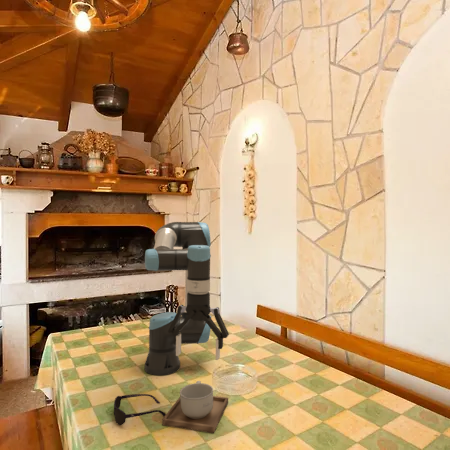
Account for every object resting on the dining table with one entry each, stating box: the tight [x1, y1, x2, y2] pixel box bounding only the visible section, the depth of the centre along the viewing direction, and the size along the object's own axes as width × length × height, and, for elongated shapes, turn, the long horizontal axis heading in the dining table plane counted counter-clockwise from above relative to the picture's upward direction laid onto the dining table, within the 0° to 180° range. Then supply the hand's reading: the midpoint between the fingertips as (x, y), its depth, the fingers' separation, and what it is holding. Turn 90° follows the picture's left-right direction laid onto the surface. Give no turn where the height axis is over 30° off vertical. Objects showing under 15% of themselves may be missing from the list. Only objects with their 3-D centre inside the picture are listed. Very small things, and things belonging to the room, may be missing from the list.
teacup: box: [179, 380, 214, 419], centre depth 116 cm, size 14×11×8 cm
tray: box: [161, 395, 229, 434], centre depth 116 cm, size 17×19×2 cm
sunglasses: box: [113, 393, 167, 426], centre depth 116 cm, size 14×16×5 cm
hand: (197, 356), depth 116 cm, fingers open, 13 cm apart
